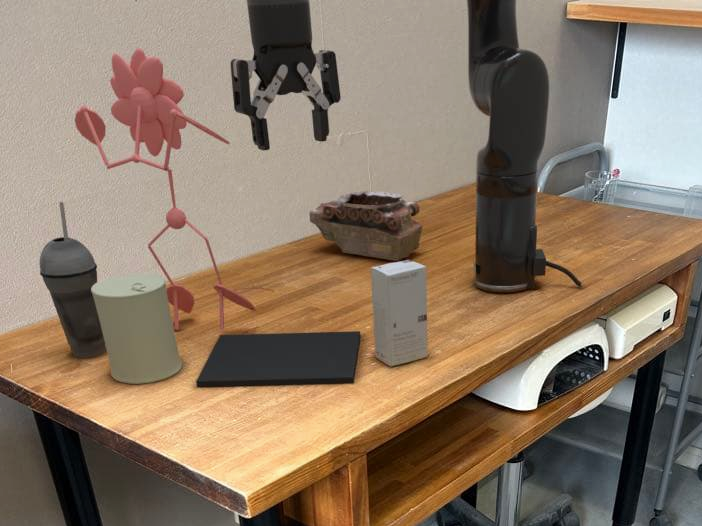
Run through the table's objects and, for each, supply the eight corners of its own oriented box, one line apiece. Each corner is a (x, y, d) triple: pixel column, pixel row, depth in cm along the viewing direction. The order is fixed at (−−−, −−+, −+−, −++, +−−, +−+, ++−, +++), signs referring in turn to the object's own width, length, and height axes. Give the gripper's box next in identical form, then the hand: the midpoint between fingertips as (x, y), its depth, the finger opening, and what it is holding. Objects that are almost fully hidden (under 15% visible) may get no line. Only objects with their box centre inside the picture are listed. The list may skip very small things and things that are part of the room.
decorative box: (382, 273, 145) (379, 213, 140) (296, 255, 155) (290, 199, 150) (427, 253, 154) (426, 197, 148) (343, 238, 164) (339, 184, 158)
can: (138, 390, 109) (116, 297, 102) (97, 372, 114) (74, 283, 107) (196, 366, 114) (179, 277, 107) (155, 351, 119) (136, 264, 113)
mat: (360, 336, 121) (360, 330, 121) (353, 383, 108) (353, 377, 108) (220, 340, 122) (219, 334, 122) (196, 387, 109) (195, 381, 108)
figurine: (264, 334, 116) (165, 46, 96) (134, 332, 129) (23, 79, 109) (325, 288, 126) (247, 17, 106) (198, 290, 139) (108, 50, 119)
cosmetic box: (391, 368, 112) (387, 275, 105) (373, 357, 115) (368, 267, 108) (430, 356, 114) (428, 265, 108) (411, 346, 118) (408, 257, 111)
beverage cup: (69, 343, 123) (30, 197, 112) (120, 340, 123) (87, 194, 112) (56, 363, 117) (14, 211, 106) (110, 360, 117) (74, 208, 106)
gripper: (238, 4, 98) (257, 157, 107) (344, -4, 104) (353, 141, 113) (211, 3, 103) (231, 149, 112) (313, -4, 109) (324, 134, 119)
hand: (292, 145), depth 113 cm, fingers open, 8 cm apart
